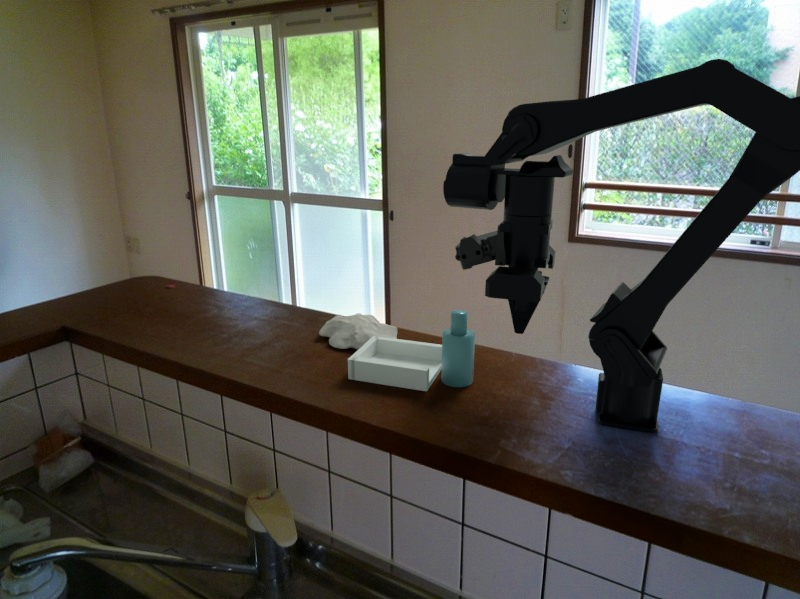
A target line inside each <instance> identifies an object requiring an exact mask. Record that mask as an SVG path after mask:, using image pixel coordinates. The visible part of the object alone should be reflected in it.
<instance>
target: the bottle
mask: <svg viewBox="0 0 800 599" xmlns="http://www.w3.org/2000/svg"><path fill="white" fill-rule="evenodd" d="M468 314H469V312H468V311H467V310H464V309H455V310H452V311H451V312H450V328H446V329H444V330H443V331H442V332H441V333H442V335H441V336H442V338H441V340H442V341H441V342H442V343H441V345H442V370H441V376H440V377H441V379H440V380H441V382H442V384H444V385H445V386H448V387H452V388H466V387H469V386H471V385H472V384H473V383H474V369H475V368H474V367H475V344H476V333H475V331H473V330H472V329H468V316H469V315H468Z"/></svg>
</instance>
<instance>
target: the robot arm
mask: <svg viewBox="0 0 800 599" xmlns="http://www.w3.org/2000/svg"><path fill="white" fill-rule="evenodd" d="M705 105H707V106H709V105H711V106H712V107H714V108H715V109H717V110H719V111H720V112H722V113H724V114H725V115H727V116H729V118H731V119H733V120H735V121H737V122H738V123H740V124H741V125H744V127H747V128H748V129H750V130H752V131H753V132H755V133H754V134H753V136H752V138H751V140H750V141H749V143H748V145H746V148H745V149H744V152H743V154H741V157H740V159H739V160H738V162H737V163H736V165H735V167H734V168H733V170H732V172H731V173H730V175H729V177H728V178H727V179H726V181H725V182H724V183H723V184H722V186H721V187H720V188H719V189H718V191H717V192H716V193H715V194H714V195H713V196H712V198H711V199H710V200H709V201H708V202H707V204H706V205H705V206H704V207H703V208H702V209H701V211H700V212H699V213H698V214H697V216H695V218H694V219H693V220H692V222H691V223H690V224H688V226H687V227H686V229H685V230H684V231H683V232H682V234H680V236H679V237H678V238H677V239H676V241H675V242H674V243H673V244H672V245H671V247H670V248H669V249H668V250H667V251H666V253H664V255H663V256H662V257H661V258H660V260H659V261H658V262H657V263H656V265H655V266H654V267H653V268H652V269H651V270H650V271H649V273H648V274H647V275H646V277H644V278H643V279H642V280H641V281H639V283H637V284H636V285H634V286H633V287H632V288H630V287H629V286H628V285H627V284H626V283H625V282H624V281H621V282H620V284H619V285H618V286H617V287H616V288H615V289H614V291H613V292H612V293H611V294H610V295H609V297H608V299H607V300H606V302H605V303H603V304H602V305H601V306H600V307H599V308H598V309H597V311H596V312H595V313H594V314H593V315H592V316H591V318H590V319H589V321H590V322H591V323H594V324H593V325H592V326H591V328H590V330H589V331H588V341H589V346H590V348H591V349H592V351H593V353H594V354H595V355H596V356H597V357H598V358H599V359H600V363H601V366H602V370H603V372H600V373H598V378H597V386H596V387H597V388H596V396H595V406H594V407H595V409H594V410H595V411H596V412H597V413H598V423H599V424H601V425H604V426H611V427H618V428H623V429H630V430H636V431H642V432H648V433H649V432H650V433H655V434H656V433H658V432H659V429H660V426H659V421H658V415H659V409H660V402H661V396H662V390H663V384H664V376H663V375H664V374H663V371H662V368H661V365H662V362H663V360H664V358H665V356H666V354H667V351H668V347H667V346H666V345H665V343H664V342H663V341H662V339H660V337H659V336H658V335H657V334H656V333H655V332H654V328H655V327H656V325H657V323H658V322H659V320H660V319H661V317H662V315H663V313H664V311H665V310H666V308H667V307H668V305H669V304H670V302H672V301H673V299H674V298H675V297H676V296H677V295H678V294H679V292H680V291H681V290H682V289H683V288H684V287H685V286H686V285H687V284H688V282H689V281H690V280H692V278H693V277H694V276H695V274H697V273H698V271H699V270H700V269H701V268H702V267H703V266H704V265H705V264H706V262H707V261H708V260H709V259H710V258H711V257H712V255H714V254H715V253H716V251H717V250H718V249H719V248H720V247H721V246H722V244H723V243H724V242H725V241H726V240H727V238H729V237H730V235H732V233H734V231H735V230H736V229H737V227H738V226H740V224H741V223H742V222H743V221H744V220H745V219H746V218H747V216H748V215H749V214H750V213H751V212H752V211H753V210H754V208H756V206H757V205H758V204H760V202H761V201H762V200H763V199H765V197H767V196H768V195H770V194H771V193H772V192H773V191H775V190H776V189H778V188H779V187H780V186H782V185H784V184H785V183H786V182H787V181H789V180H790V179H791V178H793V177H795V175H796V174H797V173H799V172H800V95H799V96H795V97H789V96H787V95H785V94H784V93H782V92H780V91H778V90H777V89H774V88H773V87H771V86H769V85H767V84H766V83H763V82H762V81H760V80H758V79H756V78H754V77H753V76H751V75H748V74H747V73H744V72H743V71H741V70H739V69H738V68H736V66H735V65H734V64H733V63H731V62H730V61H729V60H726V59H722V58H715V59H709V60H708V61H705V62H704V63H702V64H700V65H698V66H694V67H691V68H688V69H684V70H680V71H677V72H673V73H669V74H665V75H663V76H658V77H655V78H652V79H648V80H644V81H641V82H637V83H634V84H630V85H627V86H624V87H621V88H620V87H619V88H615V89H613V90H609V91H605V92H602V93H598V94H594V95H590V96H588V97H584V98H576V99H566V100H564V99H563V100H561V99H560V100H551V101H539V102H530V103H523V104H519V105H517V106H515V107H513V108H512V109H511V110H509V111H508V113H507V114H506V117H505V118H504V120H503V123H502V128H501V131H502V132H501V133H500V135H499V136H498V137H497V139H496V140H495V142H494V143H493V144H492V145H491V147H490V149H488V151H487V152H486V153H485V155H483V154H482V155H479V154H477V155H475V154H471V153H464V152H461V153H459V152H458V153H453V155H452V160H451V161H452V162H451V164H450V166H449V167H448V169H447V172H446V175H445V180H443V187H442V189H443V190H442V191H443V197H444V200H445V203H446V205H448V206H449V207H452V208H461V209H463V208H465V209H473V210H485V211H486V210H488V211H492V210H494V209H495V208H496V207H497V205H498V204H499V203H502V202H503V201H504V206H503V220H502V221H501V222H500V223H499V224H498V225H497V230H495V231H490V232H487V233H483V234H480V235H476V234H475V233H473V234H471V235H470V236H468V237H466V236H463V237H462V238H461V239H460V240H459V243H457V245H455V247H454V248H455V251H456V254H455V256H454V258H455V260H456V261H458V262H459V263H460V265H461V268H462V270H463V271H464V270H465V271H466V270H469V269H472V268H473V267H475V266H478V265H482V264H486V263H490V262H493V261H494V266H498V267H497V268H496V269H493V271H492V272H491V273H490V274H489V276H488V277H487V278H486V279H485V285H484V286H485V288H484V290H485V291H484V296H485V297H487V298H491V299H501V300H507V301H508V306H509V310H510V315H511V322H512V327H513V330H514V333H515V334H519V335H523V334H524V333H525V331H526V329H527V328H528V325H529V323H530V321H531V319H532V317H533V315H534V314H535V311H536V309H537V308H538V305H539V303H540V302H541V300H542V298H543V296H544V294H545V291H546V289H547V286H548V283H549V281H550V276H547V275H543V271H542V270H540V269H546V268H548V269H550V270H552V269H554V267H555V261H556V260H555V259H556V250H554V248H553V247H552V246H551V245H550V240H551V230H552V228H553V224H554V223H553V221H554V220H553V219H552V216H553V203H554V202H553V201H554V189H555V178H561V179H562V178H567V177H570V176H572V175H574V172H575V171H574V169H573V168H572V167H571V166H569V164H568V163H566V162H565V160H564V159H563V156H562V155H561V154H556V155H553V156H552V157H551V158H550V160H549V161H545V160H544V161H543V160H542V161H541V160H525V159H528V158H529V157H533V156H540V155H546V154H550V153H551V152H553V151H556V150H558V149H561V148H563V147H565V146H567V145H571V144H573V143H574V142H576V141H578V140H580V139H582V138H584V137H586V136H589V135H591V134H593V133H595V132H599V131H603V130H607V129H611V128H616V127H620V126H623V125H627V124H632V123H635V122H636V123H637V122H639V121H644V120H648V119H652V118H656V117H657V118H658V117H660V116H664V115H668V114H673V113H676V112H681V111H685V110H690V109H693V108H697V107H700V106H701V107H702V106H705ZM523 161H524V162H523ZM518 162H523V163H522V165H521V166H520V168H509V167H508V168H507V167H506V164H513V163H518Z"/></svg>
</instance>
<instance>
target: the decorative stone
mask: <svg viewBox="0 0 800 599" xmlns="http://www.w3.org/2000/svg"><path fill="white" fill-rule="evenodd" d="M318 333H319V334H318V335H319V336H321V337H324V338H326V337H327V338H329V339H328V343H329V345H330V346H332V347H333V348H336V349H340V350H344V349H345V350H346V349H354V350H355V351H357V350H358V349H360V348H361V347H362V346H363V345H364V344H365V343H366V342H367V341H368V340H369V339H371V338H372V337H373V336H378V337H386V338H394V339H398V337H397V335H398V327H397V326H395V325H390V324H386V323H382V322H380V321H379V320H378V319H377V318H376V317H375V316H374V315H372V314H362V313H359V312H358V313H355V314H352V315H345V316H344V315H342V314H337V315H335V316H333V317H332V318H331V319H329V320H327V321H325V323H324V325H323V326H322V327H321V328H320V330H319V331H318Z"/></svg>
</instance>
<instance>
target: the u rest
mask: <svg viewBox="0 0 800 599" xmlns="http://www.w3.org/2000/svg"><path fill="white" fill-rule="evenodd" d="M440 372H442V344H438V343H431V342H424V341H415V340H409V339H401V338H400V339H399V338H397V339H394V338H386V337H378V336H373V337H372V338H371V339H369V340H368V341H367V342H366V343H365V344H364V345H363V346H362V347H361V348H360V349H358V350H355V352H354V353H353V354H352V355H351V356H350V357H348V358H347V375H348V376H347V377H348V380H351V381H352V380H353V381H359V382H364V383H371V384H377V385H384V386H388V387H389V386H390V387H397V388H403V389H409V390H415V391H422V392H428V391H429V389H430V387H431V386H432V384H433V383H434V381H435V380H436V379H437V377H438V376H439V374H440Z"/></svg>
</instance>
